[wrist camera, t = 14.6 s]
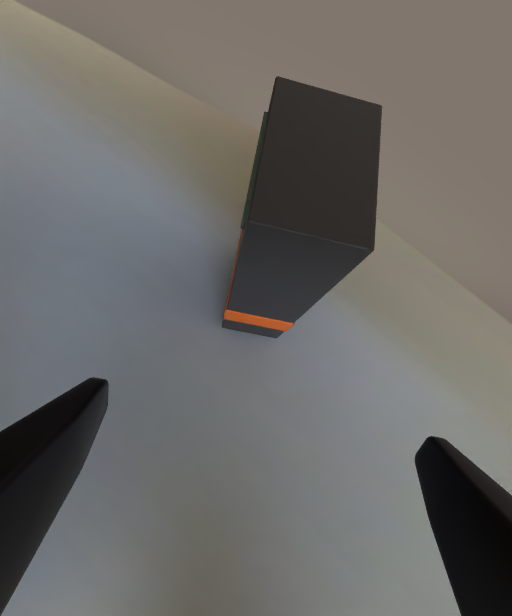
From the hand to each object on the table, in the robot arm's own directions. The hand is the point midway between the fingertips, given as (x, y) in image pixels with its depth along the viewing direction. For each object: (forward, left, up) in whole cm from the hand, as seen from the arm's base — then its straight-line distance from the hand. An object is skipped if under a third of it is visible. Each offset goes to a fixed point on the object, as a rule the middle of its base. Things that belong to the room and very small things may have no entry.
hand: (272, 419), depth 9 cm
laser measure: (+3, +7, -11) cm, 13 cm away
